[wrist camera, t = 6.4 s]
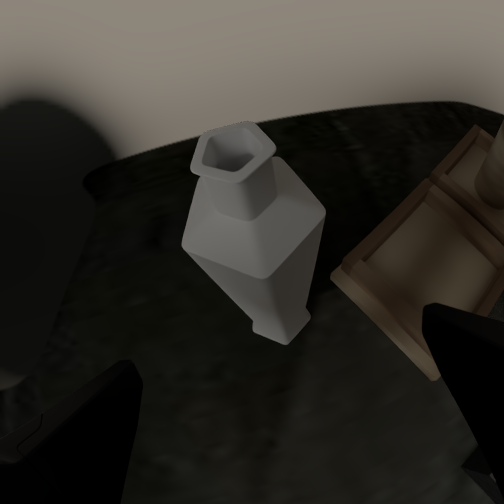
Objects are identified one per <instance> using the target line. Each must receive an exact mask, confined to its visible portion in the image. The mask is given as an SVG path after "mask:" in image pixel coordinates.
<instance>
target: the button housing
mask: <svg viewBox="0 0 504 504" xmlns="http://www.w3.org/2000/svg"><path fill="white" fill-rule="evenodd" d="M461 468H462V469H463V470H464V471H465V472H466V473H467V474H468V475H469V476H470V477H471V478H472V479H473V480H474V481H475V482H476V483H477V484H478V485H479V486H480V487H481V489H482V490H483V491H484V492H485V493H486V494H487V495H488V496H489V497H490V498H491V499H492V500H493V501H494V502H495V503H496V504H504V500H503V497H502V495H501V493H500V490H499V488H498V486H497V483H496V480H495V478H494V476H493V474H492V472H491V470H490V467H489V465H488V463H487V461H486V459H485V457H484V455H483V453H482V451H481V449H480V447H479V446H478V448H477V449H476V450H475V451H474V452H473V454H472V455H471V456H470V457H469V458H468V460H467V461H466V462H465V463H464V464H463V465H462V466H461Z"/></svg>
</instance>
